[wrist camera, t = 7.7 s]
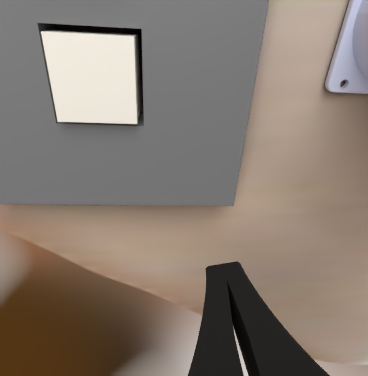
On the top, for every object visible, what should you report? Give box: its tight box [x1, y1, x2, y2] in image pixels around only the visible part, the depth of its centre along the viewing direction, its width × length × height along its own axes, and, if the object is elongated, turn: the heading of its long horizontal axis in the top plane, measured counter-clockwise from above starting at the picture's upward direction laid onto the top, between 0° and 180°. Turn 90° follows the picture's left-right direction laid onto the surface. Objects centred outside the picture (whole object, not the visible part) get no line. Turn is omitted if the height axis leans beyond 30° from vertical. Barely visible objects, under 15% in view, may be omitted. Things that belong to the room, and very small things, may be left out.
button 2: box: [41, 30, 141, 124], centre depth 14 cm, size 4×4×2 cm
